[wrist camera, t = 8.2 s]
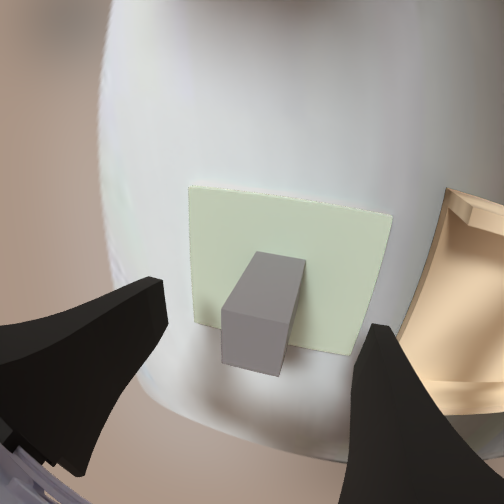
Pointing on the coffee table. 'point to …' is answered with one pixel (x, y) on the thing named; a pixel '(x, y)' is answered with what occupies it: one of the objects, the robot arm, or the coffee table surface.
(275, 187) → the coffee table surface
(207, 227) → the cover plate
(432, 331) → the box
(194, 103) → the coffee table surface
